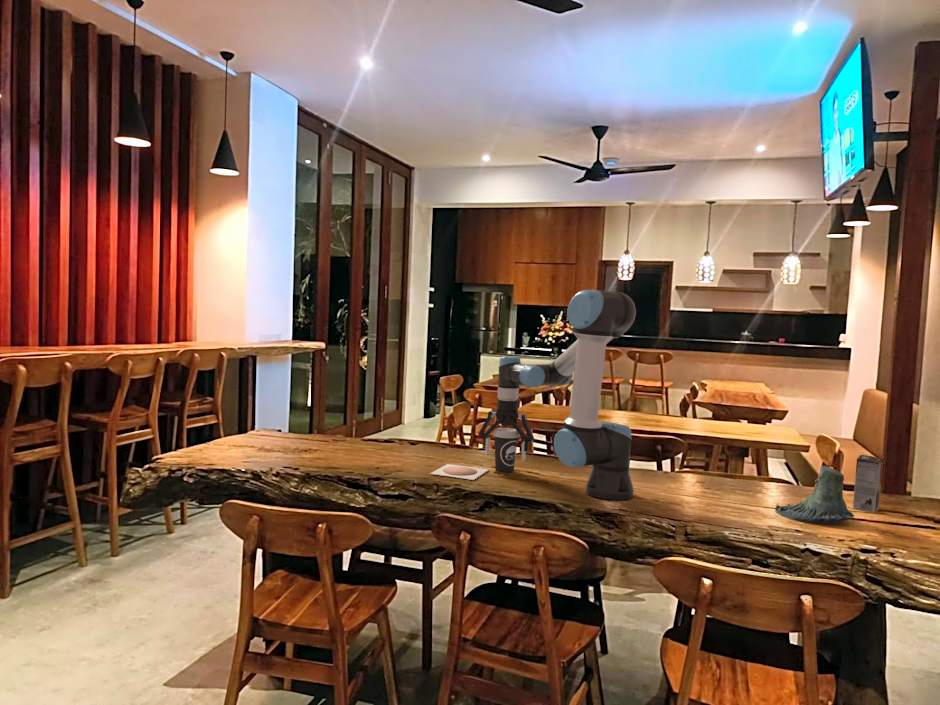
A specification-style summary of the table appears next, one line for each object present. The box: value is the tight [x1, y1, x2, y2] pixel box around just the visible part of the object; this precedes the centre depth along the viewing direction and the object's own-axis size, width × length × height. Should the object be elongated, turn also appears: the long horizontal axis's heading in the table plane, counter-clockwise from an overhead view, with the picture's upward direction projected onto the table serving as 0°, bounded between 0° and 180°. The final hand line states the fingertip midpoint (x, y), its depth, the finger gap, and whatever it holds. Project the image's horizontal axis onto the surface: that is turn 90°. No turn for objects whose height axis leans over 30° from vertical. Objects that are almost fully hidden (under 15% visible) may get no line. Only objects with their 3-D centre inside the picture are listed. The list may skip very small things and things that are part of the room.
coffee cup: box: [492, 427, 520, 474], centre depth 229 cm, size 10×10×15 cm
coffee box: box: [852, 454, 884, 514], centre depth 201 cm, size 9×6×16 cm
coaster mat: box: [429, 463, 490, 482], centre depth 223 cm, size 16×16×1 cm
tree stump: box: [775, 465, 855, 526], centre depth 189 cm, size 18×20×18 cm
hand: (505, 457), depth 229 cm, fingers open, 13 cm apart
